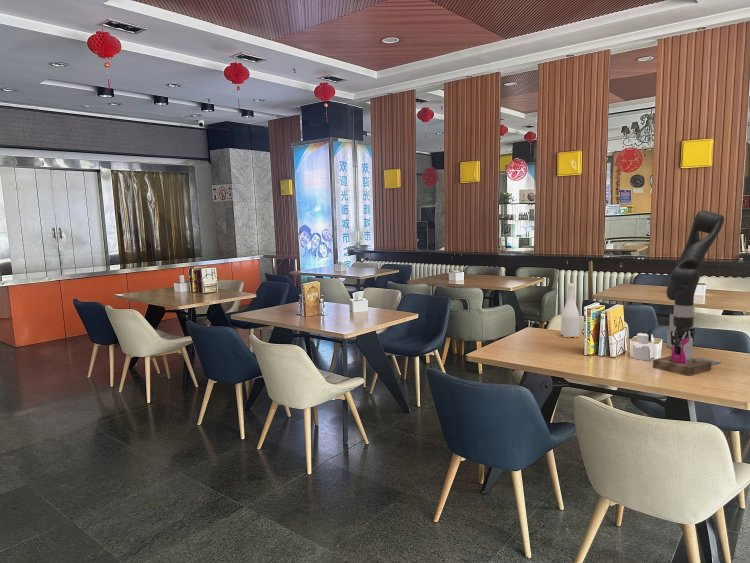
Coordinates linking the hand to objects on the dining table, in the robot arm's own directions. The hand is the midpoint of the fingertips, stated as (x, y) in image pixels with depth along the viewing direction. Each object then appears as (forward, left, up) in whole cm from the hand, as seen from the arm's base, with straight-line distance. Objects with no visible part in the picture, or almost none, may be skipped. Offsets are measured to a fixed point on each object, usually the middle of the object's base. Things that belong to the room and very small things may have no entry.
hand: (682, 353), depth 231 cm
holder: (0, 0, -7) cm, 7 cm away
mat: (-1, +18, -7) cm, 19 cm away
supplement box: (0, 0, -5) cm, 5 cm away
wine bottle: (-72, +14, -7) cm, 74 cm away
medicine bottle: (-20, +3, -7) cm, 21 cm away
